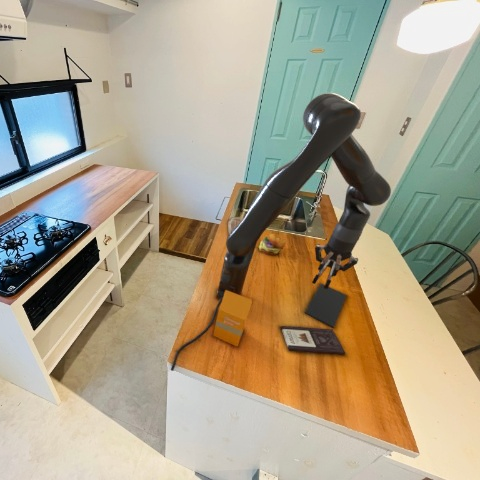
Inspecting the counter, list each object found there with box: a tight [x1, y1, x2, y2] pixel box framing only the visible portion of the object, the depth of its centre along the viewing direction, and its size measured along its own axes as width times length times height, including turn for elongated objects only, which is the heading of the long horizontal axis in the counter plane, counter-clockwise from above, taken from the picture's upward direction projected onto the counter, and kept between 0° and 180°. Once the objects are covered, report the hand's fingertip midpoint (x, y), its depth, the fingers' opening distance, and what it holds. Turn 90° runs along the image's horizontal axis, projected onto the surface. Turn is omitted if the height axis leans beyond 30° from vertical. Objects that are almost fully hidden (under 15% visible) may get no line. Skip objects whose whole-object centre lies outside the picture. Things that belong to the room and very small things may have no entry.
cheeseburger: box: [258, 233, 286, 256], centre depth 129 cm, size 10×11×10 cm
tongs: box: [311, 259, 336, 289], centre depth 95 cm, size 16×5×3 cm, turn 138°
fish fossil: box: [227, 216, 244, 235], centre depth 146 cm, size 26×10×1 cm, turn 168°
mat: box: [304, 283, 347, 329], centre depth 102 cm, size 21×10×1 cm, turn 138°
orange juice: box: [212, 290, 253, 347], centre depth 85 cm, size 8×9×20 cm
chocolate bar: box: [280, 325, 346, 355], centre depth 88 cm, size 9×1×18 cm
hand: (326, 273), depth 96 cm, fingers closed on tongs, 3 cm apart
